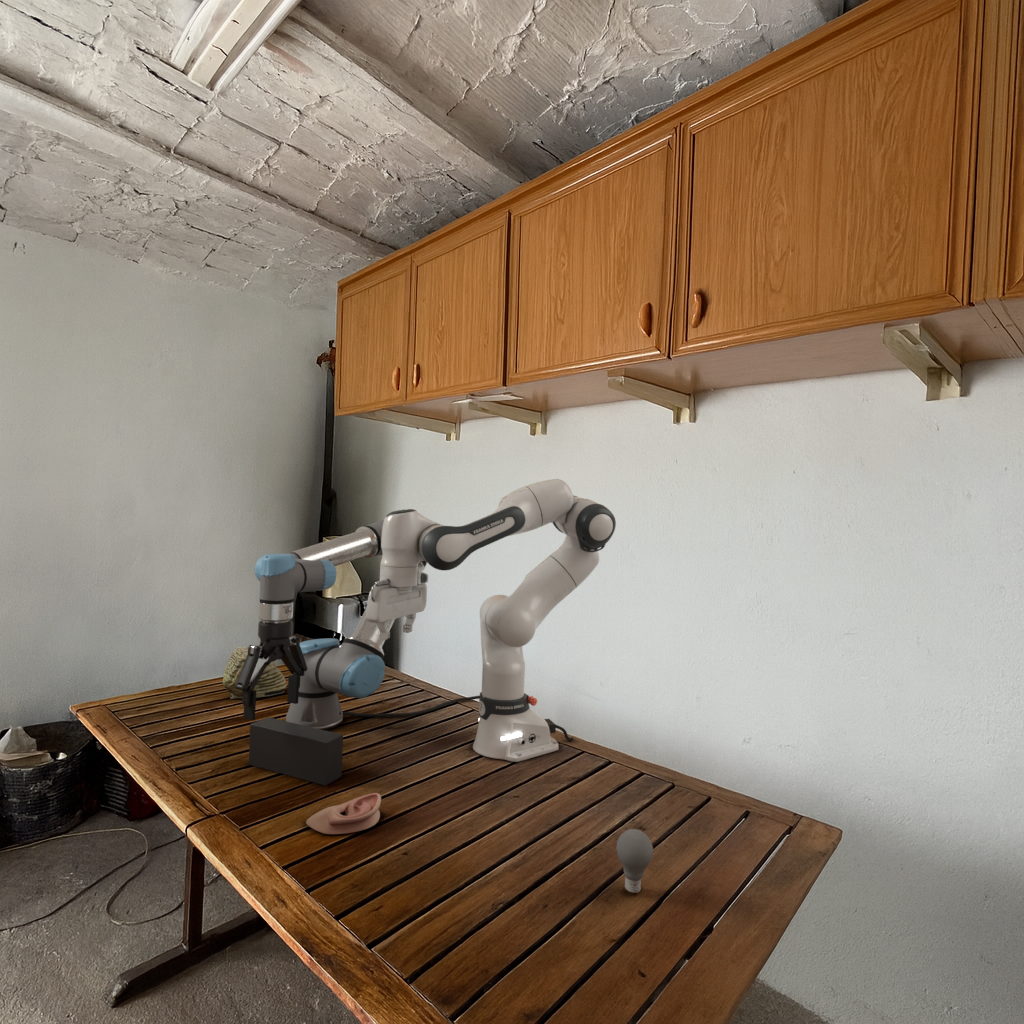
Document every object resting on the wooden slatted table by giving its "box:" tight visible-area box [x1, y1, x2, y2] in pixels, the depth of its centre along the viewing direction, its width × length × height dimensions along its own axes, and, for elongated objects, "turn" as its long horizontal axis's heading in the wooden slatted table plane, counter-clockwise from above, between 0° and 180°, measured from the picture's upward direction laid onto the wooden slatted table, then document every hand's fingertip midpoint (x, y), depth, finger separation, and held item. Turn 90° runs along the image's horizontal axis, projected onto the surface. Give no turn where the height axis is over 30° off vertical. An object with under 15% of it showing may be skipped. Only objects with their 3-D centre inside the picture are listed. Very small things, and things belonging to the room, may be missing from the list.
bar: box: [248, 716, 344, 787], centre depth 146 cm, size 23×6×10 cm, turn 66°
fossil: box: [222, 646, 288, 699], centre depth 198 cm, size 9×18×15 cm, turn 132°
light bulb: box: [615, 828, 654, 894], centre depth 106 cm, size 6×6×10 cm
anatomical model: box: [305, 792, 382, 835], centre depth 124 cm, size 13×4×12 cm
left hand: (271, 710), depth 148 cm, fingers open, 13 cm apart
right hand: (396, 635), depth 150 cm, fingers open, 8 cm apart
